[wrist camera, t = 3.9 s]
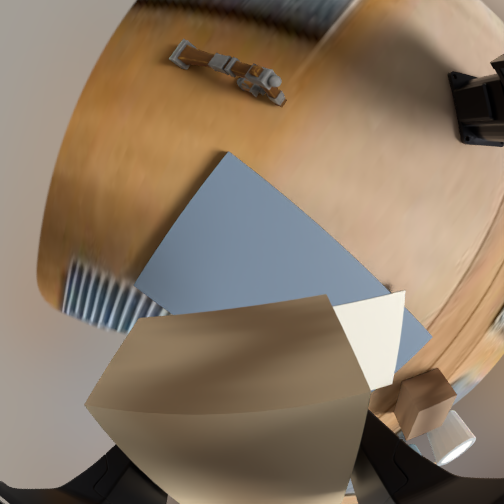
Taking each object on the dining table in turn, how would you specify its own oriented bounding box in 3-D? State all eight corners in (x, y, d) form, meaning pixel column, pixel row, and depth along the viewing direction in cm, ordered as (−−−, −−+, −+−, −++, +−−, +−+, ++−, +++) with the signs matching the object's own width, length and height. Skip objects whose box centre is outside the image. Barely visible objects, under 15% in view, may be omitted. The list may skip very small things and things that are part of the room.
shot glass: (444, 430, 29) (459, 458, 22) (415, 439, 29) (429, 471, 22) (465, 403, 27) (484, 432, 20) (436, 412, 27) (455, 445, 20)
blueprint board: (133, 288, 21) (127, 294, 20) (239, 140, 17) (238, 139, 16) (341, 414, 25) (342, 421, 24) (438, 329, 22) (443, 334, 21)
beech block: (326, 294, 8) (371, 390, 4) (327, 436, 10) (340, 505, 7) (139, 317, 8) (84, 404, 5) (203, 447, 11) (193, 514, 7)
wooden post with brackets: (288, 120, 16) (266, 89, 12) (201, 83, 18) (166, 57, 14) (302, 99, 15) (284, 63, 11) (213, 65, 17) (181, 37, 13)
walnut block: (437, 367, 24) (457, 394, 19) (426, 399, 26) (441, 425, 21) (401, 380, 24) (418, 411, 19) (393, 411, 26) (406, 440, 21)
